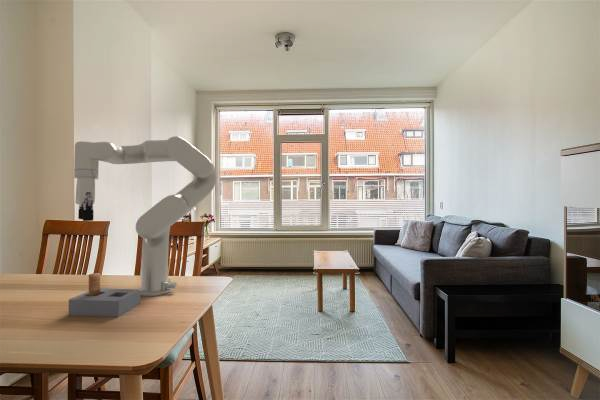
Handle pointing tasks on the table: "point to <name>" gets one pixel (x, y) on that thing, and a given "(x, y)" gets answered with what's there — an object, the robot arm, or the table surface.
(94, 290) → the dowel
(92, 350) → the table surface
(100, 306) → the bore block
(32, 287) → the table surface
